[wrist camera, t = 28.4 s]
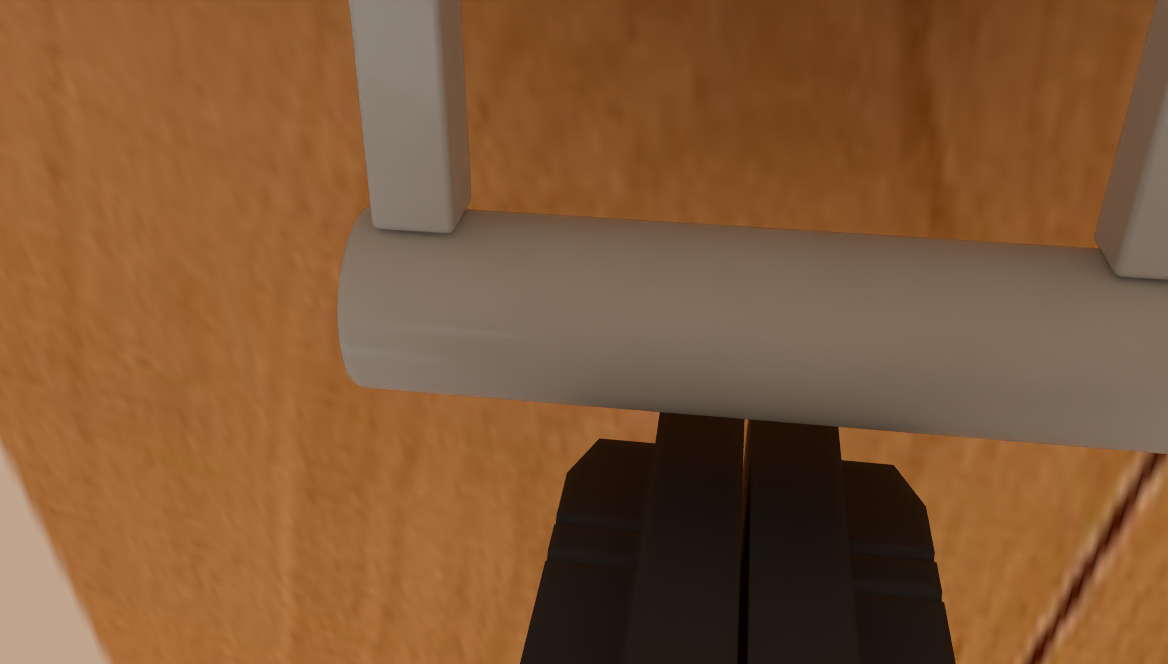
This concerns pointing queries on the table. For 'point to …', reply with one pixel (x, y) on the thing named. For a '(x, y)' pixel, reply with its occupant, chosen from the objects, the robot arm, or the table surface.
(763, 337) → the drawer
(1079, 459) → the table surface
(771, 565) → the robot arm
